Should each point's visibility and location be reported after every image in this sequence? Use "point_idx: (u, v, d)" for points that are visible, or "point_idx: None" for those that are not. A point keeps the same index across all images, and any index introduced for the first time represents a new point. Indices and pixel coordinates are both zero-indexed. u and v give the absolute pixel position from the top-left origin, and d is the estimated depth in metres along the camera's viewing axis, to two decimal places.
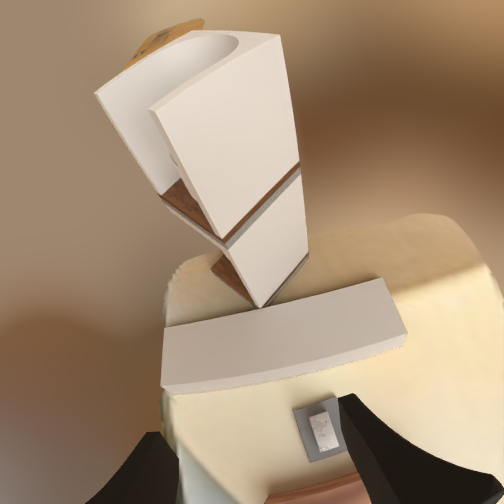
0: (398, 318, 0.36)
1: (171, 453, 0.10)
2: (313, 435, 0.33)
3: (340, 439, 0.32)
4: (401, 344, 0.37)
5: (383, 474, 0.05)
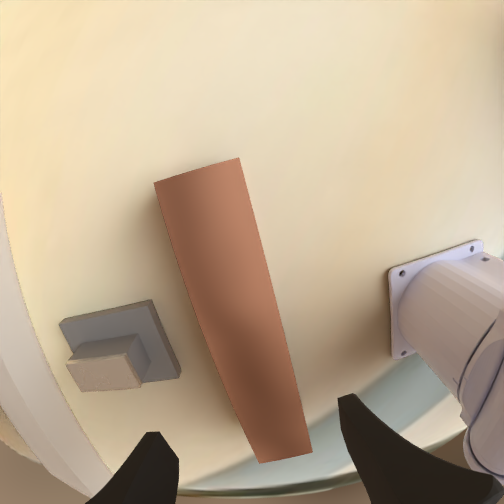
0: None
1: (171, 453, 0.10)
2: None
3: (130, 327, 0.19)
4: None
5: (383, 474, 0.05)
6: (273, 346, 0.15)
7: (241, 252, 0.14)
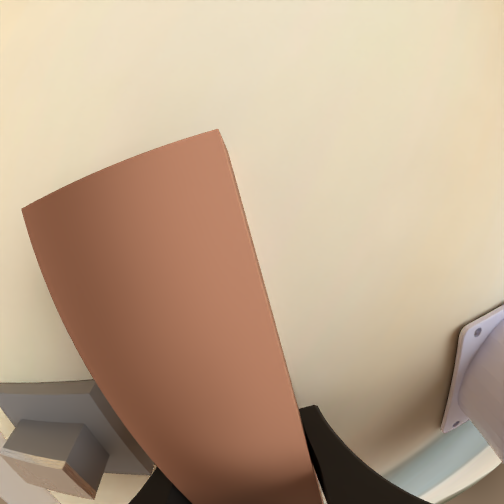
0: None
1: None
2: None
3: (73, 415, 0.10)
4: None
5: (328, 492, 0.05)
6: (295, 490, 0.07)
7: (231, 371, 0.05)
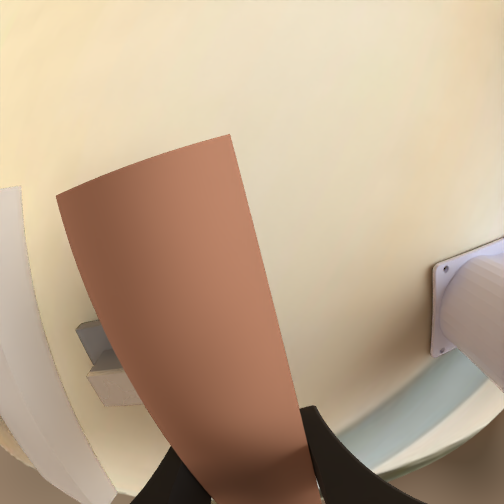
0: None
1: None
2: None
3: None
4: (7, 192, 0.14)
5: (326, 493, 0.05)
6: (290, 462, 0.08)
7: (236, 338, 0.06)
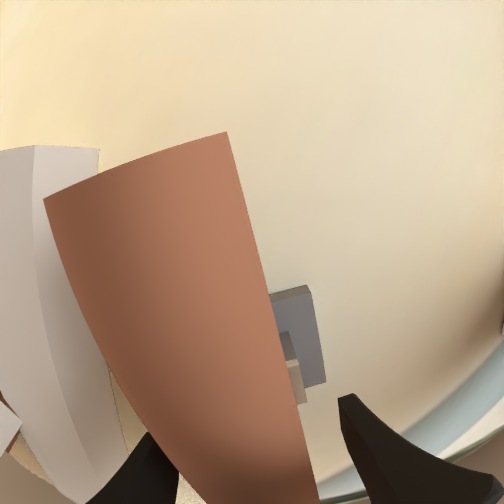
0: (6, 158, 0.09)
1: None
2: None
3: (279, 323, 0.15)
4: (83, 153, 0.12)
5: (383, 474, 0.05)
6: (291, 473, 0.07)
7: (234, 350, 0.06)
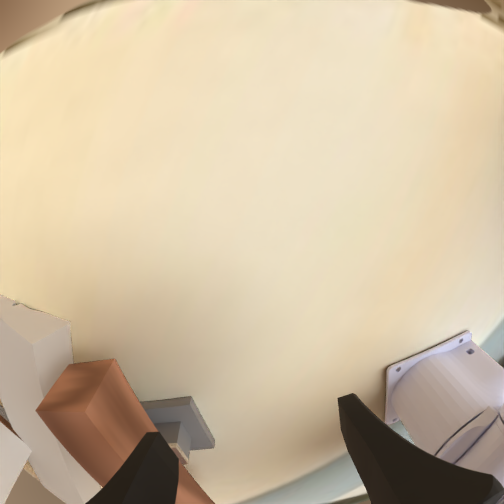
0: (13, 333, 0.16)
1: (171, 453, 0.10)
2: None
3: (174, 417, 0.21)
4: (60, 331, 0.18)
5: (383, 474, 0.05)
6: None
7: (110, 461, 0.12)
